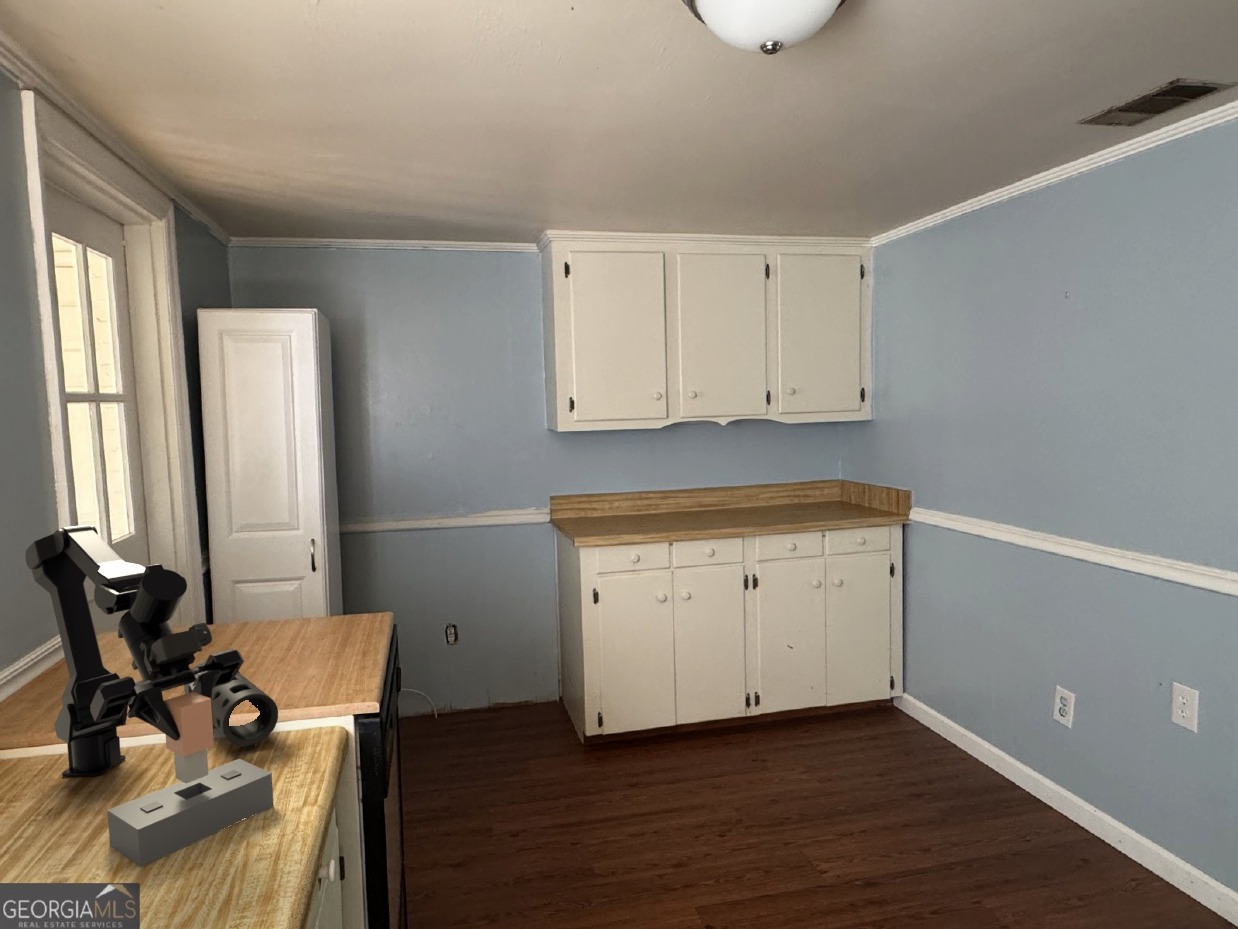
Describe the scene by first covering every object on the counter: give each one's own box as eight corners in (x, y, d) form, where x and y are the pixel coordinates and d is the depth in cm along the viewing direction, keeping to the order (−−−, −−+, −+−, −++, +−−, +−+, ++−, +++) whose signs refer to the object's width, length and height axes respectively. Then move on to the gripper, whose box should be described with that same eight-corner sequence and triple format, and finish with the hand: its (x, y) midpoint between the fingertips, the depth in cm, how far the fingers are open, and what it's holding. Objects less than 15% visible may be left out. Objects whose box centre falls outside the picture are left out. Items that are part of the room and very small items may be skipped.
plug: (168, 777, 107) (163, 700, 106) (197, 766, 110) (192, 691, 109) (186, 787, 104) (180, 708, 103) (215, 775, 107) (210, 698, 107)
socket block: (109, 846, 103) (107, 808, 103) (241, 790, 118) (238, 757, 117) (140, 867, 98) (137, 828, 97) (273, 806, 112) (271, 772, 112)
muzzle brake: (223, 760, 128) (219, 700, 128) (183, 714, 149) (179, 662, 149) (282, 743, 135) (278, 685, 134) (235, 701, 156) (232, 651, 155)
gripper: (92, 625, 100) (136, 725, 95) (233, 595, 115) (278, 679, 110) (72, 673, 105) (113, 771, 100) (210, 639, 120) (252, 722, 115)
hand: (194, 733), depth 106 cm, fingers closed on plug, 4 cm apart
